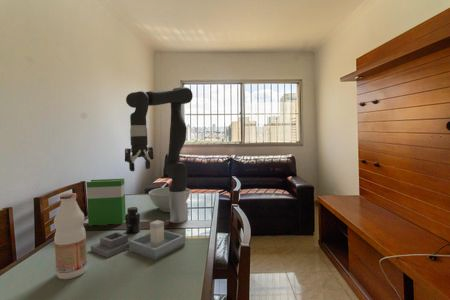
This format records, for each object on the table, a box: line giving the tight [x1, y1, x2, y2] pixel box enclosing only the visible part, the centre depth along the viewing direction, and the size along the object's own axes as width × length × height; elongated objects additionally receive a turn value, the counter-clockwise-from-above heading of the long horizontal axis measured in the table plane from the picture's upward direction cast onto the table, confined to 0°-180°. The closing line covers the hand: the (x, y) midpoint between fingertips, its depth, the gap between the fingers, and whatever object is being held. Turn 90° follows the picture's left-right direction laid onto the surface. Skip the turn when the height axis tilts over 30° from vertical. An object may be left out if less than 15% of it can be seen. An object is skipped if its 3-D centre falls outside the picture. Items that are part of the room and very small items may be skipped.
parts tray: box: [128, 229, 186, 261], centre depth 109 cm, size 16×16×4 cm
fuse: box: [149, 219, 165, 248], centre depth 109 cm, size 4×4×10 cm
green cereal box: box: [85, 178, 127, 227], centre depth 141 cm, size 18×7×24 cm, turn 98°
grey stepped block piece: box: [90, 231, 133, 258], centre depth 109 cm, size 14×12×5 cm
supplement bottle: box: [125, 206, 141, 235], centre depth 128 cm, size 7×7×12 cm
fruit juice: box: [53, 192, 88, 280], centre depth 89 cm, size 9×9×28 cm
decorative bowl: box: [148, 186, 191, 213], centre depth 166 cm, size 27×27×12 cm
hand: (140, 169), depth 119 cm, fingers open, 8 cm apart
